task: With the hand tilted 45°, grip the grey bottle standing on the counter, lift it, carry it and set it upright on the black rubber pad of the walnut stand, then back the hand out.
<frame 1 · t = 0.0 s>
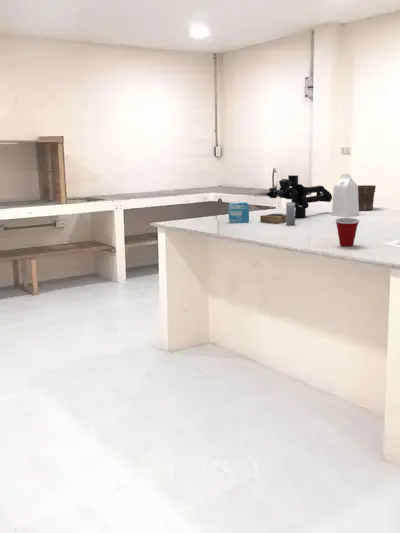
hand: (272, 194, 339), 17 cm above the countertop, tool horizontal, fingers open, 9 cm apart
grey bottle: (290, 225, 328), on the countertop
milk: (345, 215, 359), on the countertop
plant pot: (363, 210, 384), on the countertop
stand: (275, 221, 343), on the countertop
data package: (239, 222, 348), on the countertop
plastic cup: (346, 245, 259), on the countertop
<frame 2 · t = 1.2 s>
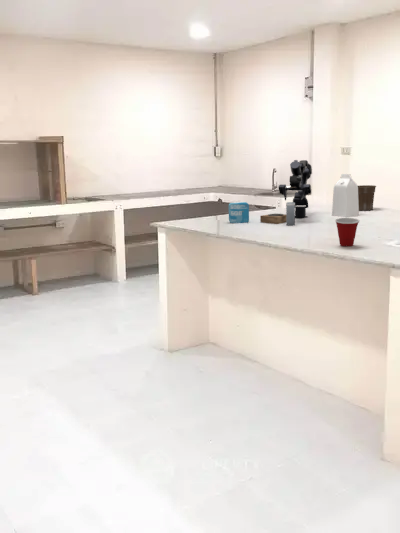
hand: (293, 200, 333), 14 cm above the countertop, tool tilted 45°, fingers open, 9 cm apart
nothing on the countertop moved.
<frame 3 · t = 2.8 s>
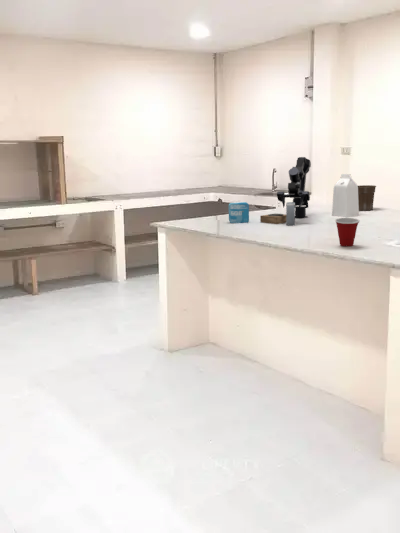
hand: (291, 207, 329), 10 cm above the countertop, tool tilted 45°, fingers open, 9 cm apart
nothing on the countertop moved.
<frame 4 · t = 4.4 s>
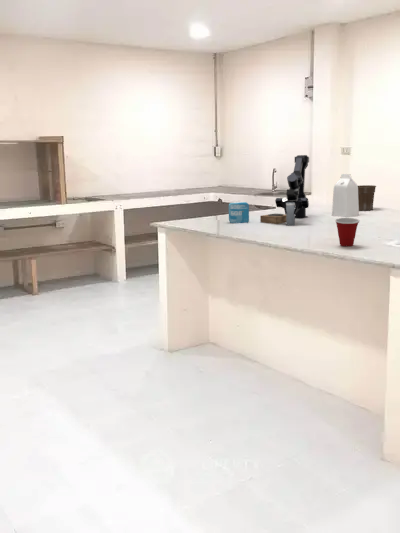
hand: (290, 214, 326), 7 cm above the countertop, tool tilted 45°, fingers closed on grey bottle, 5 cm apart
grey bottle: (290, 225, 328), on the countertop, touching gripper
everything else where it was.
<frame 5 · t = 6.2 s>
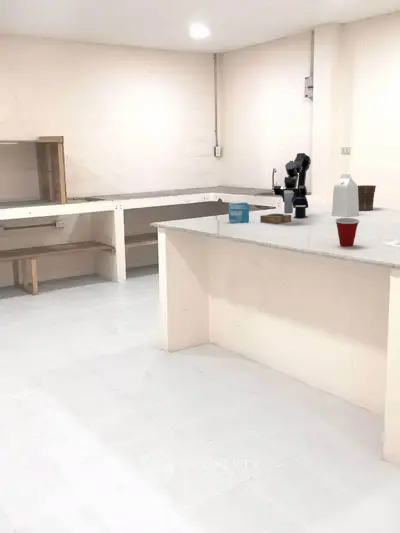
hand: (287, 201, 326), 13 cm above the countertop, tool tilted 45°, fingers closed on grey bottle, 5 cm apart
grey bottle: (288, 212, 328), point 7 cm above the countertop, touching gripper
everything else where it was.
when the fingers open (12 cm above the countertop, at t = 8.2 s): grey bottle stays where it is, resting on stand.
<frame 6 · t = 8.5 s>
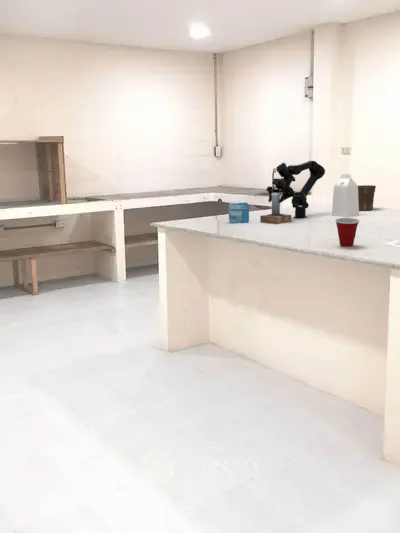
hand: (274, 202, 340), 12 cm above the countertop, tool tilted 45°, fingers open, 8 cm apart
grey bottle: (275, 214, 342), point 5 cm above the countertop, touching stand
everything else where it was.
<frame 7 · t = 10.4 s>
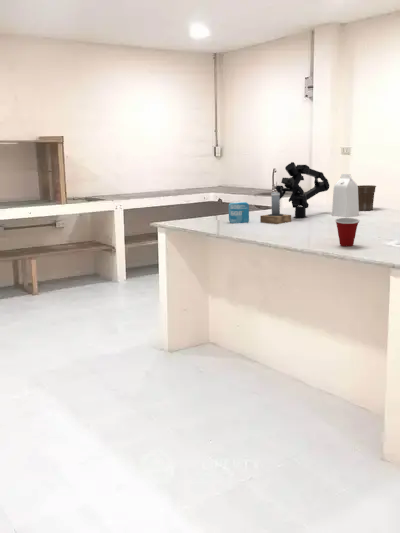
hand: (283, 201, 345), 12 cm above the countertop, tool tilted 45°, fingers open, 9 cm apart
nothing on the countertop moved.
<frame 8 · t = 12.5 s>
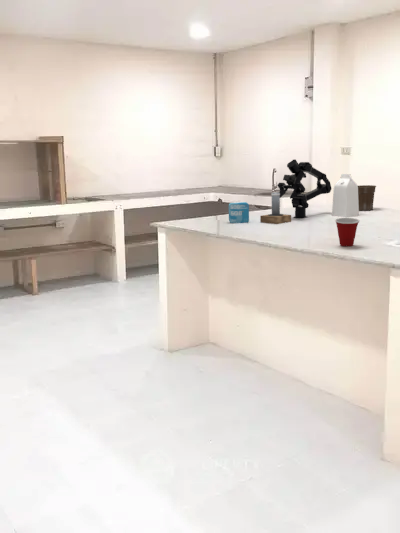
hand: (284, 198, 347), 14 cm above the countertop, tool tilted 45°, fingers open, 9 cm apart
nothing on the countertop moved.
at the end: grey bottle inside the target area on the stand (0.1 cm from its centre), point 4.5 cm above the stand's base; grey bottle tilted 0°; the gripper is holding nothing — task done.
